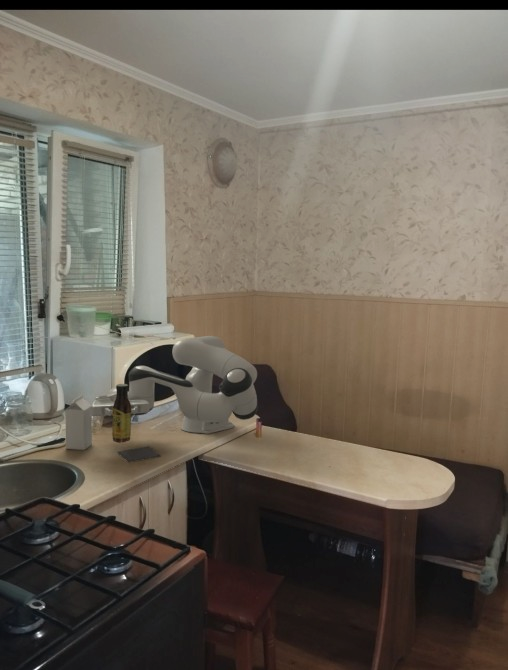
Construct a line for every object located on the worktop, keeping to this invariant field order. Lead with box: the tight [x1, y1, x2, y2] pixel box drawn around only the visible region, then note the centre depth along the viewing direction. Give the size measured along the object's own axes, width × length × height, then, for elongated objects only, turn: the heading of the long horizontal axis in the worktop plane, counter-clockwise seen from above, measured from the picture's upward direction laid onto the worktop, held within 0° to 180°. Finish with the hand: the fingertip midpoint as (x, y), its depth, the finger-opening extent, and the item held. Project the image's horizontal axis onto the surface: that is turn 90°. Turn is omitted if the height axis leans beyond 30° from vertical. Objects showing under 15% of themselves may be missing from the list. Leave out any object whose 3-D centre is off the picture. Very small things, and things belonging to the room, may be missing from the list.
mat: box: [117, 445, 161, 463], centre depth 198 cm, size 12×11×1 cm
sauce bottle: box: [111, 383, 132, 444], centre depth 189 cm, size 6×6×20 cm
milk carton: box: [64, 394, 93, 451], centre depth 203 cm, size 7×7×19 cm
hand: (122, 412), depth 189 cm, fingers closed on sauce bottle, 6 cm apart
